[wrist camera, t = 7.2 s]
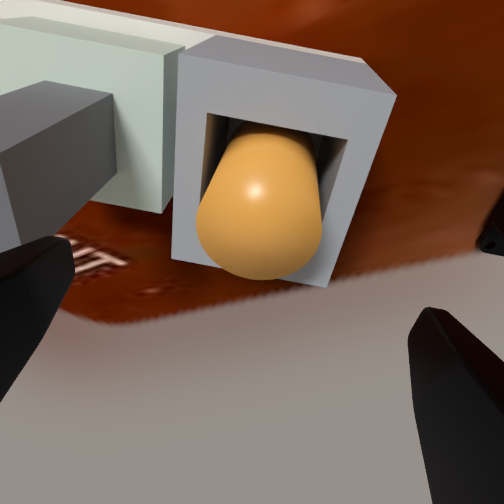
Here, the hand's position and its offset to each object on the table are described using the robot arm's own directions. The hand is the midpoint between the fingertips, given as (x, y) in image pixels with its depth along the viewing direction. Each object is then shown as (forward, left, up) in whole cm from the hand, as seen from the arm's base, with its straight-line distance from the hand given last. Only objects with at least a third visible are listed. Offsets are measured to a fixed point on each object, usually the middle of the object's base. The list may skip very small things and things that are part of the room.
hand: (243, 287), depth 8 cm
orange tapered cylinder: (0, 0, -8) cm, 8 cm away
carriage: (+7, 0, -10) cm, 12 cm away
